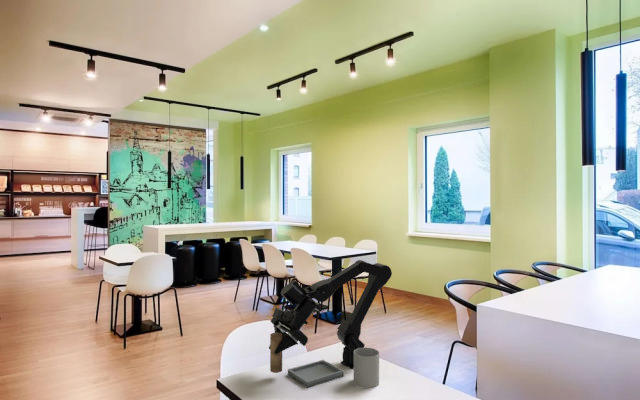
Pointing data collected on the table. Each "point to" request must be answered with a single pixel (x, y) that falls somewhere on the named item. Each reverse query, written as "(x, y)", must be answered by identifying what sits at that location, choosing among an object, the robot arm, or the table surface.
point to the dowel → (274, 358)
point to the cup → (366, 367)
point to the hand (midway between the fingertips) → (272, 351)
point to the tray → (315, 373)
